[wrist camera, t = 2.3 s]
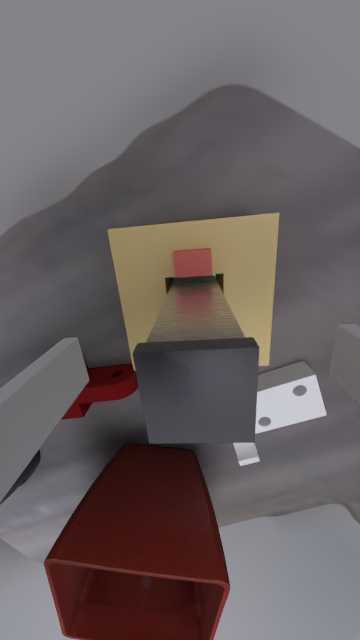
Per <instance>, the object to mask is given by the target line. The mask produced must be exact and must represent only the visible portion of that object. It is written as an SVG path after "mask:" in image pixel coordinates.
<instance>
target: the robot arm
mask: <svg viewBox="0 0 360 640" xmlns="http://www.w3.org/2000/svg"><path fill="white" fill-rule="evenodd" d="M329 374H330V375H331V376H332V377H333V378H334V379H335V380H336V381H337V382H338V383H339V384H340V385H341V387H342V388H343V389H344V390H345V391H346V392H347V393H348V394H349V395H350V396H351V397H352V398H353V399H354V400H355V401H356V402H357V403H358V404H359V405H360V326H358V325H356V324H342V325H338V327H337V333H336V338H335V343H334V349H333V354H332V359H331V364H330V370H329ZM88 382H89V376H88V373H87V369H86V366H85V362H84V359H83V355H82V351H81V348H80V344H79V341H78V337H75V338H63V339H62V340H61V341H60V342H58V343H57V344H56V345H55V346H53V347H52V348H51V349H49V350H48V351H47V352H46V353H44V354H43V355H42V356H41V357H39V358H38V359H37V360H36V361H34V362H33V363H32V364H30V365H29V366H28V367H27V368H25V369H24V370H23V371H22V372H20V373H19V374H18V375H16V376H15V377H14V378H13V379H11V380H10V381H9V382H8V383H6V384H5V385H4V386H3V387H1V388H0V504H1V503H3V502H4V501H5V500H6V499H7V498H8V497H9V496H10V495H11V494H12V493H13V492H14V491H15V490H16V489H17V488H18V487H19V486H21V485H22V484H24V483H25V482H26V481H27V480H28V479H29V478H30V476H31V475H32V473H33V472H34V471H35V469H36V468H37V466H38V464H39V461H40V454H39V449H40V447H41V446H42V445H43V443H44V442H45V440H46V439H47V438H48V436H49V435H50V434H51V432H52V431H53V430H54V428H55V427H56V425H57V424H58V423H59V421H60V420H61V419H62V417H63V416H64V414H65V413H66V412H67V410H68V409H69V408H70V406H71V405H72V403H73V402H74V401H75V399H76V398H77V397H78V395H79V394H80V393H81V391H82V390H83V388H84V387H85V386H86V384H87V383H88Z"/></svg>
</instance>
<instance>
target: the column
mask: <svg viewBox="0 0 360 640" xmlns="http://www.w3.org/2000/svg"><path fill="white" fill-rule="evenodd" d="M133 359H134V364H135V370H136V375H137V381H138V386H139V391H140V397H141V402H142V408H143V413H144V419H145V424H146V429H147V435H148V440H149V444H164V443H255V425H256V405H257V385H258V365H259V346H258V344H257V342H256V341H255V339H254V337H246V338H245V336H244V334H243V332H242V330H241V328H240V326H239V324H238V322H237V320H236V318H235V316H234V314H233V312H232V310H231V308H230V306H229V304H228V302H227V300H226V298H225V296H224V294H223V292H222V290H221V288H220V286H219V284H218V282H217V280H216V278H215V274H212V275H206V276H192V277H179V278H175V277H174V280H173V283H172V285H171V287H170V289H169V292H168V294H167V296H166V298H165V301H164V303H163V305H162V307H161V309H160V312H159V314H158V316H157V318H156V321H155V323H154V325H153V327H152V330H151V332H150V334H149V336H148V338H147V341H146V343H138V344H137V345H136V347H135V349H134V351H133Z"/></svg>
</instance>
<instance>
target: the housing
mask: <svg viewBox="0 0 360 640" xmlns="http://www.w3.org/2000/svg"><path fill="white" fill-rule="evenodd" d="M278 225H279V213H270V214H260V215H249V216H239V217H229V218H218V219H208V220H197V221H187V222H177V223H166V224H156V225H145V226H135V227H125V228H114V229H107V231H108V236H109V242H110V247H111V252H112V258H113V263H114V268H115V274H116V279H117V284H118V290H119V295H120V300H121V306H122V311H123V316H124V322H125V327H126V332H127V337H128V343H129V348H130V353H131V359H132V364H133V369H134V371H136V370H135V364H134V359H133V351H134V349H135V347H136V345H137V344H138V343H146V341H147V338H148V336H149V334H150V332H151V330H152V327H153V325H154V323H155V321H156V318H157V316H158V314H159V312H160V309H161V307H162V305H163V303H164V301H165V298H166V296H167V294H168V292H169V289H170V287H171V285H172V283H173V280H174V277H175V278H179V277H192V276H206V275H212V274H216V280H217V282H218V284H219V286H220V288H221V290H222V292H223V294H224V296H225V298H226V300H227V302H228V304H229V306H230V308H231V310H232V312H233V314H234V316H235V318H236V320H237V322H238V324H239V326H240V328H241V330H242V332H243V334H244V336H245V338H246V337H254V339H255V341H256V342H257V344H258V346H259V365H258V366H266V365H269V355H270V341H271V326H272V312H273V297H274V283H275V269H276V254H277V240H278Z"/></svg>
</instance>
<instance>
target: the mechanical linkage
mask: <svg viewBox="0 0 360 640" xmlns="http://www.w3.org/2000/svg"><path fill="white" fill-rule="evenodd" d="M83 359H84V357H83ZM84 362H85V359H84ZM85 366H86V369H87V373H88V376H89V382H88V383H87V384H86V386H85V387H84V388H83V390H82V391H81V393H80V394H79V395H78V397H77V398H76V399H75V401H74V402H73V403H72V405H71V406H70V408H69V409H68V410H67V412H66V413H65V414H64V416H63V417H62V419H70V418H80V417H84V416H85V414H86V412H87V411H88V409H89V407H90V406H91V404H92V402H99V401H109V400H118V399H122V398H125V397H127V396H129V395H131V394H132V393H133V392H135V391H136V389H137V388H138V381H137V375H136V371H134V369H133V365H131V364H123V365H115V366H107V367H99V368H91V369H88V367H87V365H86V362H85Z"/></svg>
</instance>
